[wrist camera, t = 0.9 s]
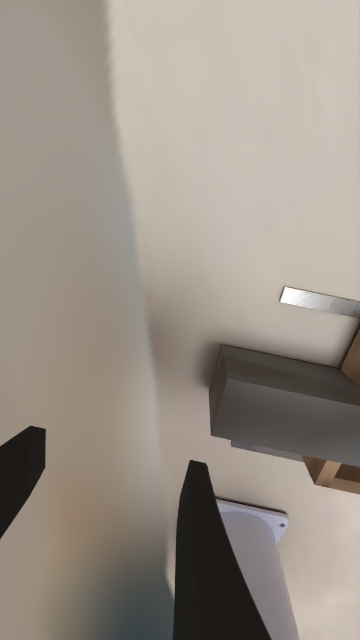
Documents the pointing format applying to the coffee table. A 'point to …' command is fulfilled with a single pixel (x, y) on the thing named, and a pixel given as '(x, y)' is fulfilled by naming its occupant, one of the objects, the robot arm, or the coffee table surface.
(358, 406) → the cart
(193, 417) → the coffee table surface
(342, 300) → the rail track
